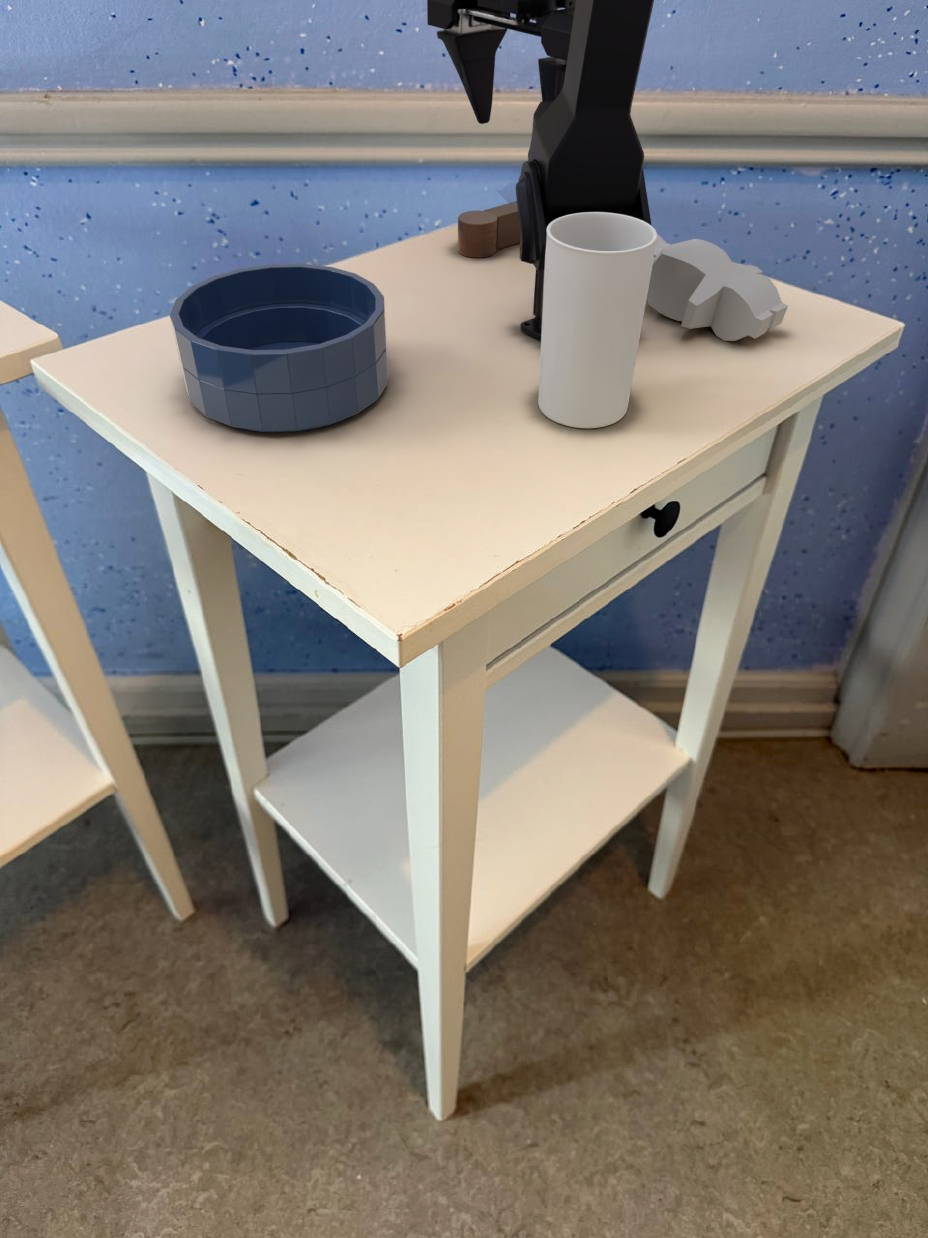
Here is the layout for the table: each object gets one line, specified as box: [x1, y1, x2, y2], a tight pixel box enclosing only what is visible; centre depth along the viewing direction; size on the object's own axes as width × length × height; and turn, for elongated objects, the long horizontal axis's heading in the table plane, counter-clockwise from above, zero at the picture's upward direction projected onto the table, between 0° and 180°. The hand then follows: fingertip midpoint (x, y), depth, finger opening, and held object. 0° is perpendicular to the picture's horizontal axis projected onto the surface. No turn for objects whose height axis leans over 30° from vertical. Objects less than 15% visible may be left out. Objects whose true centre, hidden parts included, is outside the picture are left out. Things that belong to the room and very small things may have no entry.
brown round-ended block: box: [457, 200, 520, 259], centre depth 85 cm, size 4×9×3 cm, turn 130°
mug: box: [537, 212, 658, 429], centre depth 61 cm, size 10×7×12 cm, turn 142°
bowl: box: [169, 263, 389, 433], centre depth 63 cm, size 14×14×6 cm
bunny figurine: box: [646, 233, 789, 342], centre depth 73 cm, size 10×5×15 cm
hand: (517, 134), depth 80 cm, fingers open, 9 cm apart
